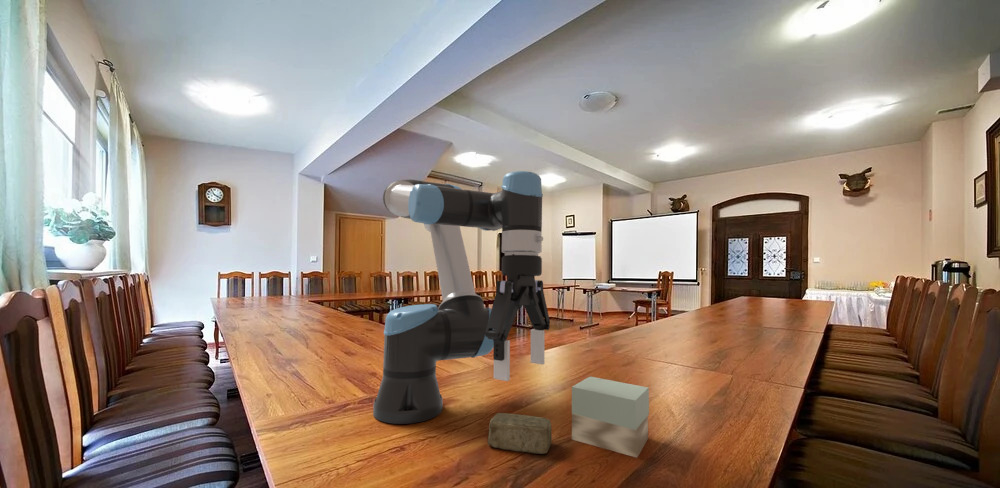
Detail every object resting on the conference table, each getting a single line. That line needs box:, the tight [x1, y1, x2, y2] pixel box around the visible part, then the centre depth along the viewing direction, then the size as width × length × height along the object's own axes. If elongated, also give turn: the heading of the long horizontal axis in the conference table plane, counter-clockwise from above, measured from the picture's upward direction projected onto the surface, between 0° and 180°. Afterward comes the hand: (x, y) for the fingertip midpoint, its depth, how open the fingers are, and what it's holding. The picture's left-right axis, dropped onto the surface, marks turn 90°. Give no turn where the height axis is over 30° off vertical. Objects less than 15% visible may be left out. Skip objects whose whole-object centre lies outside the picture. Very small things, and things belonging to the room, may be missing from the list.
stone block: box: [487, 412, 553, 455], centre depth 68 cm, size 6×12×5 cm, turn 77°
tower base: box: [571, 413, 649, 458], centre depth 71 cm, size 12×9×5 cm
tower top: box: [571, 376, 650, 430], centre depth 71 cm, size 12×9×5 cm
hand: (521, 370), depth 68 cm, fingers open, 13 cm apart
